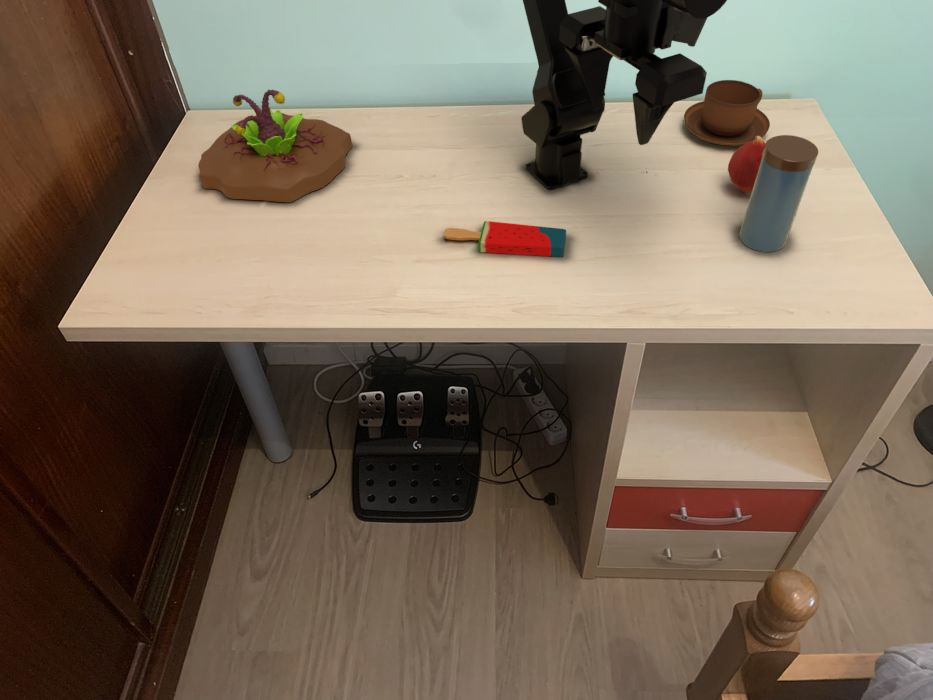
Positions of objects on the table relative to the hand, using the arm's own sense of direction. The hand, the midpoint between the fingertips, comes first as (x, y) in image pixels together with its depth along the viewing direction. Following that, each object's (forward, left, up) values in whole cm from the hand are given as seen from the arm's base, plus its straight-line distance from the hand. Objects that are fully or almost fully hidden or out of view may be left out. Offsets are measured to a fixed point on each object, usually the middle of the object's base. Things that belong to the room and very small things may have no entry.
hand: (619, 125), depth 85 cm
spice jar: (+13, +14, -13) cm, 23 cm away
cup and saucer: (-9, +27, -13) cm, 31 cm away
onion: (+4, +19, -13) cm, 24 cm away
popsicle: (-2, -14, -13) cm, 19 cm away
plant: (-34, -33, -13) cm, 49 cm away
